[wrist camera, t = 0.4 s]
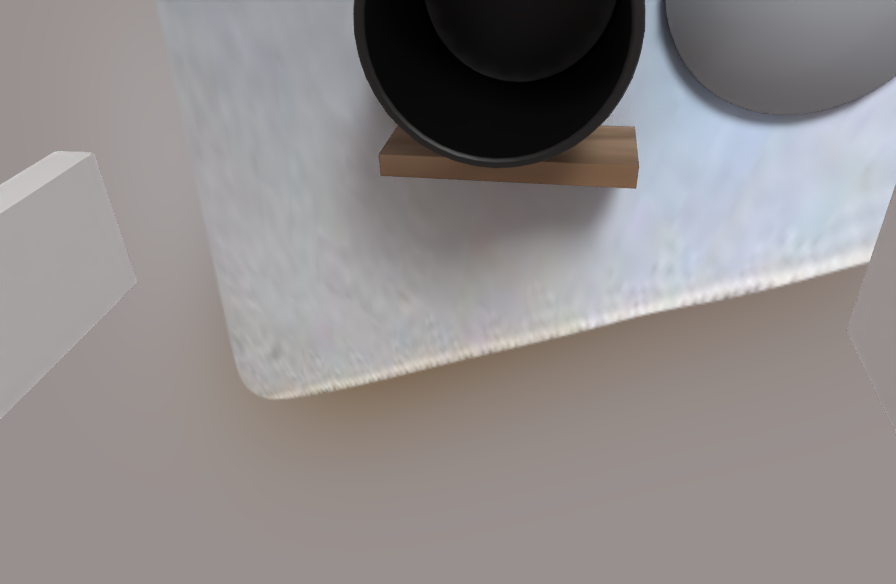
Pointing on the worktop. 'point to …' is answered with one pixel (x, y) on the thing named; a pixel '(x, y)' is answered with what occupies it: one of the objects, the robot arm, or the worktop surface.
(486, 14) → the mug
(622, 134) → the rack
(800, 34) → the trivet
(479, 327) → the worktop surface
